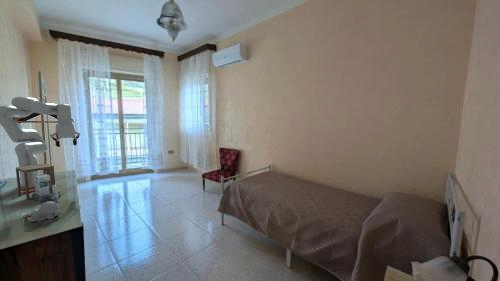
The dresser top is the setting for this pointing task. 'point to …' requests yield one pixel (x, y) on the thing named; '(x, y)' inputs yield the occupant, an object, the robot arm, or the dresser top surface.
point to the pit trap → (31, 189)
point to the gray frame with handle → (48, 195)
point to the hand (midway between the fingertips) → (66, 145)
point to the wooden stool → (45, 167)
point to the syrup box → (42, 184)
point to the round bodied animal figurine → (46, 211)
